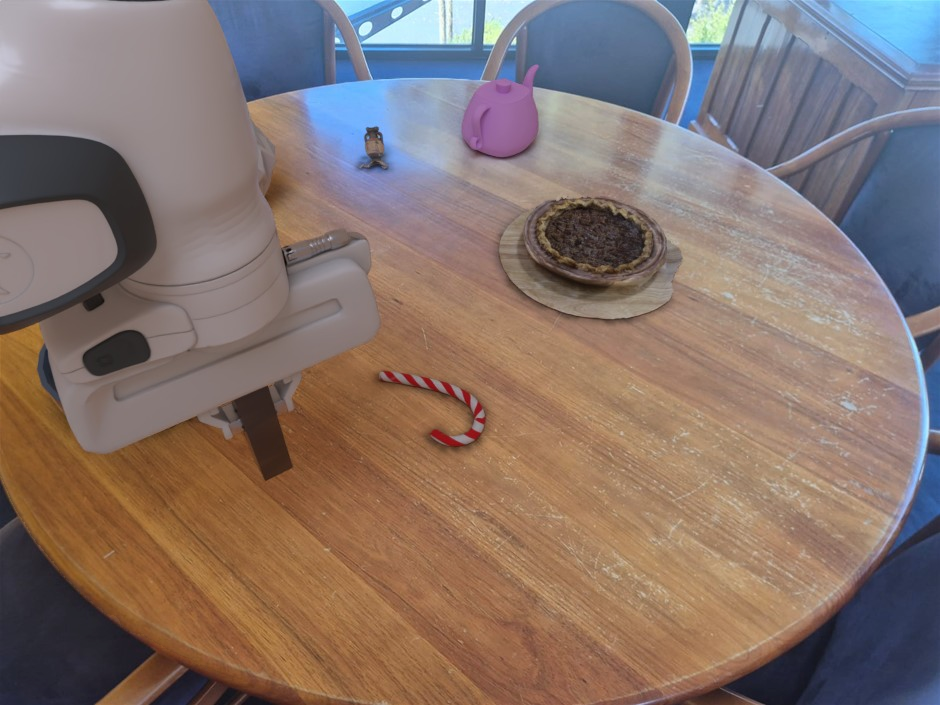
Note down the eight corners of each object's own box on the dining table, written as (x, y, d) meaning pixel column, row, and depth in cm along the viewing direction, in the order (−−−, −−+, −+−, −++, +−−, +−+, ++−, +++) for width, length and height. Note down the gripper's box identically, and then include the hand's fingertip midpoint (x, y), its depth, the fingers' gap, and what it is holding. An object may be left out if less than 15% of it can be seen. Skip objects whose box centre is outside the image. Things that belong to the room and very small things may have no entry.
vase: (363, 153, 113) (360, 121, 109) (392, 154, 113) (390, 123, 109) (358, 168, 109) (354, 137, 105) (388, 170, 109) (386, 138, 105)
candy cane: (395, 353, 78) (499, 404, 73) (395, 360, 79) (498, 411, 74) (356, 394, 73) (464, 452, 68) (357, 401, 74) (464, 458, 69)
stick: (265, 481, 49) (220, 364, 39) (254, 460, 51) (207, 341, 40) (293, 467, 50) (257, 349, 40) (281, 447, 52) (243, 327, 41)
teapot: (502, 175, 110) (507, 110, 101) (442, 150, 115) (442, 87, 106) (559, 132, 121) (568, 71, 112) (502, 111, 126) (507, 51, 117)
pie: (649, 345, 82) (659, 318, 78) (466, 279, 90) (468, 251, 86) (698, 235, 99) (708, 208, 96) (541, 187, 107) (544, 161, 104)
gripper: (344, 197, 42) (362, 339, 52) (2, 305, 34) (102, 450, 44) (390, 246, 38) (400, 388, 49) (22, 380, 30) (126, 518, 40)
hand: (257, 418), depth 46 cm, fingers closed on stick, 2 cm apart
